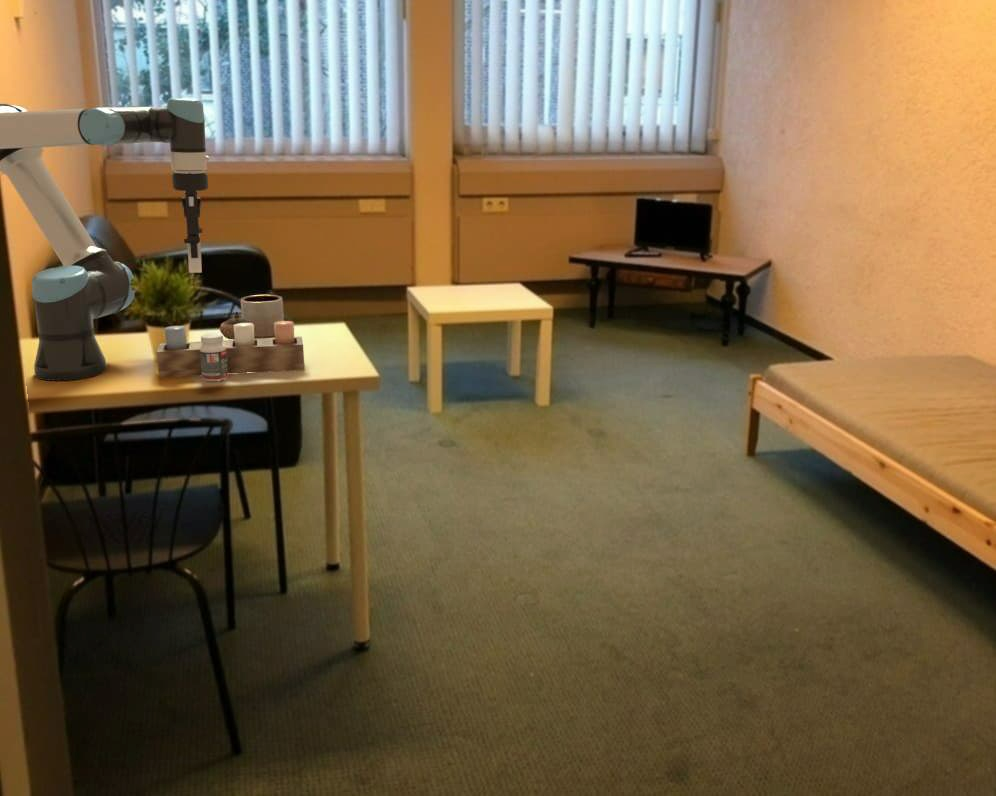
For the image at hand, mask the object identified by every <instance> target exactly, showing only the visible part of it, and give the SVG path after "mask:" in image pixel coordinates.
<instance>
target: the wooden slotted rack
mask: <svg viewBox="0 0 996 796" xmlns="http://www.w3.org/2000/svg"><path fill="white" fill-rule="evenodd" d="M254 339H255V346H238V347H235V340H234V339H223V341H222V344H224V345H225V346H226V353H227V366H228V373H238V374H248V373H247V372H256V373H269V372H268V371H274V372H289V371H305V354H304V353H305V352H304V351H305V350H304V343H303V337H302V336H294V340H295V344H277V345H275V337H269V338H254ZM186 342H187V341H186ZM202 345H203V343H202V342H201V341H188V342H187V349H179V350H167V346H166V342H165V343H159V345H158V348H157V349H156V359H157V360H156V361H157V370H158V378H159V377H168V378H181V377H183V376H185V377H198V376H200V377H202V376H201V375H202V373H201V361H200V347H201V346H202ZM183 378H184V377H183Z"/></svg>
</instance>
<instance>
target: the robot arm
mask: <svg viewBox="0 0 996 796" xmlns="http://www.w3.org/2000/svg"><path fill="white" fill-rule="evenodd" d="M205 123H206V118H205V113H204V105H203V102H202V101H201V100H200V99H197V98H168V100H167V104H166V107H164V106H163V107H157V106H156V107H155V106H141V105H131V106H122V107H121V106H120V107H116V106H115V107H114V106H111V107H107V106H97V107H93V108H92V107H90V108H71V109H70V108H67V109H48V110H46V109H45V110H27V109H26V108H24V107H22V106H19V105H14V104H13V105H12V104H8V103H0V171H1V173H2V175H5V176H6V177H7V178H8V180H9V181H10V183H11V185H12V186H13V187H14V189H15V191H16V192H17V194H18V195H19V197H20V199H21V200H22V202H23V203H24V205H25V206H26V208H27V210H28V211H29V213H30V214H31V216H32V218H33V219H34V221H35V223H36V224H37V226H38V227H39V229H40V231H41V232H42V233H43V236H45V238H46V240H47V242H48V243H49V244H50V246H51V248H52V249H53V251H54V252H55V254H56V256H57V257H58V259H59V260H60V262H61V264H62V265H60V266H57V267H50V268H47V269H44V270H41V271H39V272H37V273H36V274H35V275H33V277H32V280H31V287H32V289H31V297H32V300H33V307H34V315H35V321H36V327H37V333H38V346H37V350H36V356H35V360H34V365H33V366H34V367H33V369H34V376H35V377H36V378H38V379H41V380H46V381H73V380H79V379H80V380H81V379H86V378H90V377H94V376H97V375H100V374H102V373H104V372H106V370H107V361H106V358H105V356H104V353H103V351H102V349H101V346H100V345H99V343H98V341H97V339H96V335H95V330H94V320H95V319H98V318H102V317H106V316H108V315H113V314H114V315H115V314H117V313H118V312H119V311H122V310H124V309H126V308H128V306H130V304H131V303H132V302H133V301H134V298H135V294H136V293H135V292H136V290H135V291H134V290H132V288H131V285H130V283H131V280H132V279H135V276H134V274H133V273H132V270H131V269H130V268H129V267H128V266H127V265H125V264H124V263H121V262H120V261H116V260H114V259H112V257H111V255H110V254H109V252H108V251H107V250H106V249H105V248H100V247H97V246H96V244H95V242H94V240H93V239H92V238H91V236H90V234H89V232H87V229H86V228H85V226H84V225H83V222H82V221H81V220H80V218H79V217H78V215H77V213H76V212H75V210H74V209H73V207H72V206H71V204H70V202H69V201H68V199H67V198H66V196H65V194H64V193H63V191H62V190H61V188H60V186H59V185H58V183H57V181H56V180H55V178H54V177H53V175H52V174H51V172H50V170H49V168H48V166H47V165H46V164H45V163H44V161H43V159H42V156H43V152H44V149H43V148H53V147H55V148H56V147H76V146H77V147H78V146H82V147H83V146H101V147H102V146H103V147H104V146H106V147H107V146H113V145H121V144H123V145H124V144H138V143H141V144H142V143H165V144H167V143H168V144H169V147H170V151H169V152H170V169H171V170H173V171H174V172H172V174H171V177H172V178H171V179H172V180H171V181H172V188H173V189H174V191H180V192H181V191H184V195H185V197H182V198H181V204H182V205H181V206H182V207H183V217H184V218H185V220H186V234H187V236H186V238H184V239H183V243H184V244H186V245H187V259H188V261H187V263H188V273H189V274H191V273H192V274H193V273H194V274H195V273H199V274H200V273H202V274H203V272H202V271H203V270H202V267H203V266H202V250H201V249H202V248H201V247H202V246H201V235H200V234H203V228H200V224H199V218H200V217H201V207H202V203H201V200H202V199H201V197H198V196H197V195H198V192H199V191H201V192H202V191H207V190H208V188H209V180H208V179H209V178H208V173H207V172H205V171H206V170H207V169H208V164H207V161H210V156H208V155H207V148H206V130H205V129H206V128H205V127H206V125H205ZM1 173H0V174H1Z"/></svg>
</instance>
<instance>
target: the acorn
mask: <svg viewBox="0 0 996 796" xmlns="http://www.w3.org/2000/svg"><path fill="white" fill-rule="evenodd" d="M239 323H251V322H249V321H247V320H246V319H244V318H242V317H240V315H239V313H238V311H235V315H234V316H233V317H230V318H228V319H227V320H225V321H223V322H222V323H221V324H220V326H219V331H220V334H222V335H223V338H225V339H226V340H235V337H234V325H235V324H239ZM252 324H253V323H252ZM253 325H254V324H253ZM254 330H255V326H254Z"/></svg>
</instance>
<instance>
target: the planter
mask: <svg viewBox="0 0 996 796" xmlns="http://www.w3.org/2000/svg"><path fill="white" fill-rule="evenodd" d="M240 311H241V318H244V319H246V320H247V321H249V322H251V323H253V324H254V326H255V330H254V339H263V338H275V331H274V323H275V322H280V321H285V319H284V318H285V316H284V315H285V314H284V304H283V297H282V296H280V295H277V294H255V295H247V296H243V297H242V298H241V299H240Z"/></svg>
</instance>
